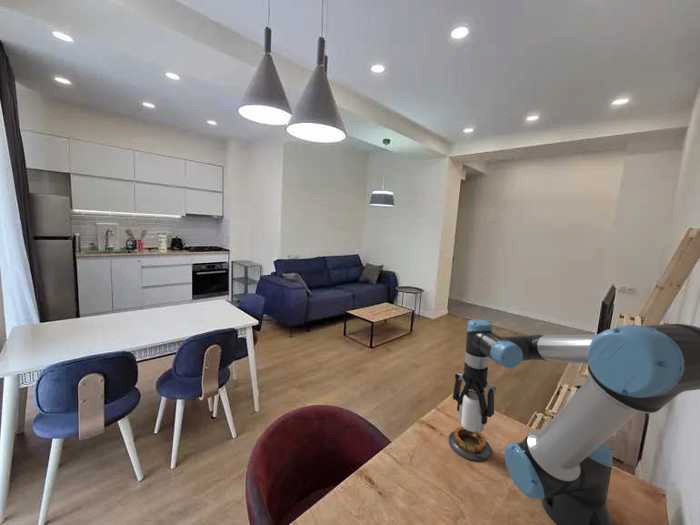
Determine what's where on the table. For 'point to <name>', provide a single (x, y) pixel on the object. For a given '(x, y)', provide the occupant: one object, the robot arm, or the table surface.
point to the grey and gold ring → (469, 444)
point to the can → (470, 412)
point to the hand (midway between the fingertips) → (470, 425)
